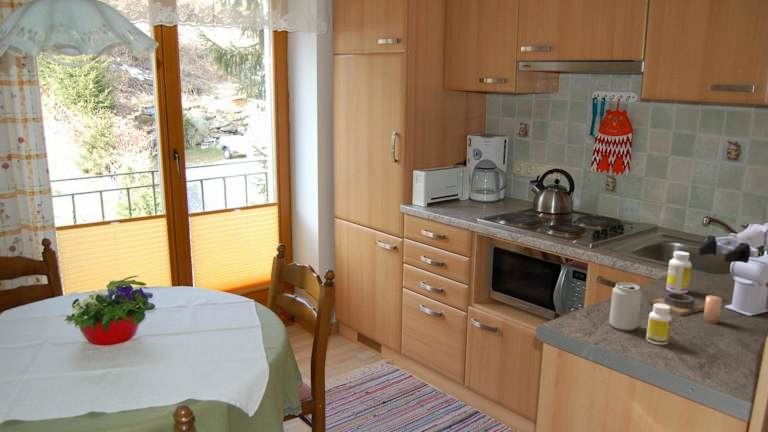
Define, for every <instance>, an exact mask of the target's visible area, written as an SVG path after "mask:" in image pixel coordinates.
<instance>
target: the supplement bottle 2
mask: <svg viewBox="0 0 768 432" xmlns="http://www.w3.org/2000/svg"><path fill="white" fill-rule="evenodd" d="M672 256H673V258H672V259H670V260H669V262H668V270H667V277H666V278H667V279H666V287H665V289H666V290H667V291H668V292H669V293H670V292H671V293H672V292H673V293H682V294H687V293H688V292H689V287H690V281H691V273H692V266H693V265H692V263H691V261H690V260H689V258H690V253H689V252H686V251H682V250H675V251H673V255H672Z"/></svg>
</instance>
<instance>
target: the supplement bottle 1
mask: <svg viewBox="0 0 768 432" xmlns="http://www.w3.org/2000/svg"><path fill="white" fill-rule="evenodd" d="M652 307H653V308H652V311H650V313H649V314H648V320H647V321H648V322H647V328H646V335H645V340H646V341H647V342H648V343H650V344H654V345H657V346H658V345H659V346H660V345H661V346H665V345H667V344H668V343H669V338H670V331H671V323H672V316H671V314H669V313H671V312H670V306H668V305H665V304H660V303H656V304H654V305H652Z"/></svg>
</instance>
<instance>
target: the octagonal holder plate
mask: <svg viewBox="0 0 768 432" xmlns="http://www.w3.org/2000/svg"><path fill="white" fill-rule="evenodd" d="M656 303H660V304H665V305H668V306H670V312H669V313H672V314H675V315H677V316H680V317H681V316H684V315H689V314H693V313H698V312H702V311H704V307H705V303H702V302H699V301H695V298H694V297H693V296H691V295H689V294H687V293H674V292H670V291H669V292H665V293H664V296H663V297H660V298H655V299H652V300H651V299H650V300H648V304H649V305H650V304H651V305H650V306H653V305H654V304H656Z"/></svg>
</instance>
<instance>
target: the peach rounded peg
mask: <svg viewBox="0 0 768 432" xmlns="http://www.w3.org/2000/svg"><path fill="white" fill-rule="evenodd" d="M722 300H723V298H722V297H720V296H717V295H711V294H710V295H705V302H704V305H705V307H704V310H703V315H702V316H703V317H702V321H703V322H705V323H707V324H712V325H713V324H718V323H719V319H720V313H721V307H722Z"/></svg>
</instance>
